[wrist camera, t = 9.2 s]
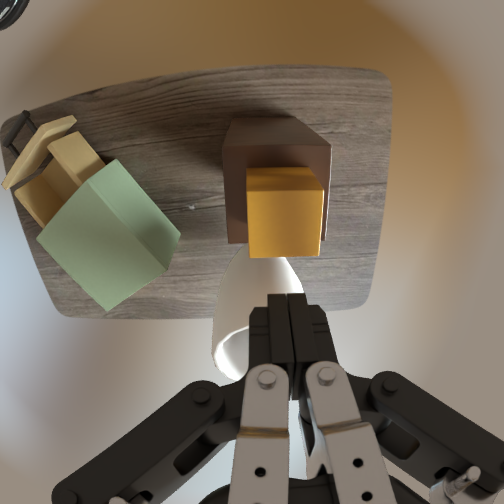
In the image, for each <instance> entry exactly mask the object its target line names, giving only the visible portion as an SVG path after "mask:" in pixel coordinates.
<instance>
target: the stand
mask: <svg viewBox="0 0 504 504" xmlns="http://www.w3.org/2000/svg"><path fill="white" fill-rule="evenodd" d="M331 156H332V145H331V144H329V143H328V142H327V141H326V140H324V139H323V138H322V137H321V136H319V135H318V134H317V133H316V132H314V131H313V130H312V129H310V128H309V127H308V126H306V125H305V124H304V123H302V122H301V121H300V120H298V119H297V118H296V117H253V118H233V119H232V121H231V124H230V126H229V129H228V132H227V134H226V137H225V140H224V143H223V145H222V159H223V176H224V191H225V206H226V220H227V234H228V243H229V244H232V243H248V220H247V194H246V169H247V168H271V167H309V168H310V170H311V171H312V173H313V174H314V176H315V177H316V179H317V180H318V182H319V183H320V185H321V186H322V188H323V189H324V200H323V214H322V227H321V238H320V241H325V238H326V227H327V215H328V203H329V189H330V174H331Z"/></svg>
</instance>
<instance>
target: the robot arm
mask: <svg viewBox="0 0 504 504" xmlns="http://www.w3.org/2000/svg"><path fill="white" fill-rule="evenodd" d="M18 1H19V0H0V22H2V21H3V20H5V19H6V18H7V17H8V16H9V15H10V14H11V12H12V11H13V10H14V8H15V7H16V5H17V3H18ZM290 396H291V398H292V400H299V415H298V419H299V424H300V429H301V434H302V440H303V445H304V450H305V455H306V464H307V465H306V472H307V480H302V479H295V478H289V431H288V411H289V410H288V409H289V407H288V406H289V405H288V403H289V402H288V401H290ZM235 439H236V444H235V452H234V459H233V468H232V476H231V483H230V484H228V485H225V486H223V487H221V488H218V489H217V490H215V491H213V492H211V493H210V494H209V495H207V496H206V497H205V498H204V499H203V500H202V501H201V502H200V503H199V504H430V503H431V504H493V502H494V500H495V498H496V496H497V494H498V493H499V492H500V491H501V490H502V489H504V441H502V440H501V439H499V438H497V437H496V436H494V435H493V434H491V433H489V432H488V431H486V430H485V429H483V428H482V427H480V426H478V425H477V424H475V423H474V422H472V421H471V420H469V419H467V418H466V417H464V416H463V415H461V414H460V413H458V412H456V411H455V410H453V409H452V408H450V407H449V406H447V405H446V404H444V403H443V402H441V401H439V400H438V399H437V398H435V397H433V396H432V395H430V394H429V393H427V392H426V391H424V390H422V389H421V388H420V387H418V386H416V385H415V384H413V383H412V382H411V381H409V380H407V379H406V378H405V377H403V376H401V375H400V374H398V373H396V372H392V371H384V372H380V373H378V374H376V375H375V376H374V377H373V378H372V379H369V378H362V377H357V376H353V375H351V374H349V373H347V372H346V371H345V370H344V369H343V368H342V367H341V366H340V365H339V363H338V360H337V356H336V352H335V348H334V344H333V340H332V336H331V333H330V329H329V325H328V321H327V317H326V313H325V312H324V311H323V310H322V309H321V307H320V306H319V305H308V304H307V299H306V295H305V293H287V294H285V293H279V294H267V307H254V308H253V310H252V312H251V313H250V315H249V364H248V370H247V372H246V374H245V375H244V376H243V377H242V378H241V379H240V380H238V381H236V382H235V383H232V384H229V385H225V386H221V387H219V386H218V385H217V384H215V383H213V382H210V381H204V380H202V381H196V382H192V383H190V384H189V385H187V386H186V387H185V388H183V389H182V390H181V391H180V392H179V393H178V394H176V395H175V396H174V397H173V398H171V399H170V400H169V401H168V402H166V403H165V404H164V405H163V406H161V407H160V408H159V409H158V410H156V411H155V412H154V413H153V414H151V415H150V416H149V417H148V418H146V419H145V420H144V421H142V422H141V423H140V424H139V425H137V426H136V427H135V428H134V429H132V430H131V431H130V432H128V433H127V434H126V435H124V436H123V437H122V438H120V439H119V440H118V441H116V442H115V443H114V444H112V445H111V446H110V447H108V448H107V449H106V450H104V451H103V452H102V453H100V454H99V455H98V456H96V457H95V458H93V459H92V460H91V461H89V462H88V463H86V464H85V465H84V466H82V467H81V468H79V469H78V470H77V471H75V472H74V473H72V474H71V475H69V476H68V477H67V478H65V479H64V480H62V481H61V482H59V483H58V484H57V485H56V486H55V488H54V489H53V491H52V504H160V503H162V502H163V501H164V500H166V499H167V498H168V497H169V496H170V495H172V494H173V493H174V492H175V491H176V490H177V489H179V488H180V487H181V486H182V485H183V484H184V483H185V482H187V481H188V480H189V479H190V478H191V477H192V476H193V475H194V474H196V473H197V472H198V471H199V470H200V469H201V468H202V467H203V466H204V465H205V464H207V463H208V462H209V461H210V460H211V459H212V458H213V457H214V456H215V455H216V454H217V453H218V452H219V451H220V450H221V449H222V448H223V447H224V446H225V445H226V444H227V443H228V442H229V441H231V440H235ZM382 455H383V456H384V457H385V458H387V459H388V460H389V461H391V462H392V463H394V464H395V465H396V466H398V467H399V468H401V469H402V470H403V471H405V472H406V473H408V474H409V475H411V476H412V477H413V478H415V479H416V480H418V481H419V482H421V483H422V484H424V485H425V486H427V487H428V488H430V491H429V501H430V503H429V502H428V501H426V500H425V499H423V498H422V497H421V496H419V495H418V494H417V493H415V492H414V491H413V490H411V489H410V488H409V487H407V486H406V485H405V484H403V483H402V482H401V481H399V480H398V479H396V478H394V477H393V476H390V475H388V472H387V469H386V466H385V463H384V460H383V457H382Z"/></svg>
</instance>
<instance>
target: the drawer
mask: <svg viewBox="0 0 504 504" xmlns="http://www.w3.org/2000/svg"><path fill="white" fill-rule="evenodd" d="M29 117H30V113H29V112H28V111H26V110H24V111H23V112H22V113H21V114H20V116H19V117H18V119H17V120H16V122H15V123H14V125H13V126H12V128H11V129H10V131H9V133H8V134H7V136H6V137H5V139H4V141H3V146H4V147H6V148H9V149H10V151H11V152H12V153H13V155H14V156H15V157H16V159H17V160H16V162H15V163H14V165H13V166H12V168H11V169H10V171H9V173H8V174H7V176H6V177H5V179H4V181H3V182H2V184H1V185H2V186H3V187H4V189H5V190H7V189H9V188H10V187H12V186H13V185H15V184H16V183H18V182H19V181H21V180H23V179H24V178H26V177H27V176H29V175H31V174H32V173H34V172H35V171H36V170H37V169H38V167H39V166H40V165H41V163H42V162H43V161H44V159H45V158H46V157H47V155H48V154H49V153H50V152H51V153H52V155H53V156H54V158H53V159H52V160H51V162H50V163H49V164H48V165H47V167H46V168H45V169H44V171H43V172H42V173H41V174H40V175H39V176H37V177H35V178H34V179H32V180H31V181H29V182H28V183H26V184H25V185H23V186H22V187H20V188H19V189H17V190H16V191H15V193H14V194H15V196H16V197H17V198H18V199H19V201H20V202H21V203H22V204H23V206H24V207H25V208H26V209H27V211H28V212H29V213H30V214H31V215H32V217H33V218H34V219H35V220H36V221H37V223H38V224H39V225H40V226H41V227H42V228H43V229H44V228H45V226H46V225H47V224H48V223H49V222H50V220H51V219H52V218H53V217H54V216H55V214H56V213H57V212H58V211H59V210H60V208H61V207H62V206H63V205H64V204H65V203H66V202H67V201H68V199H69V198H70V197H71V196H72V195H73V194H74V193H75V192H76V191H77V189H78V188H79V187H80V186H81V185H82V184H83V183H84V182H85V181H86V180H87V179H89V178H90V177H91V176H93V175H94V174H95V173H97V172H98V171H99V170H101V169H102V168H103V167H105V166H106V165H105V163H104V162H103V161H102V160H101V159H100V157H99V156H98V155H97V154H96V153H95V151H94V150H93V149H92V148H91V146H90V145H89V144H88V143H87V141H86V140H85V139H84V138H83V137H82V135H81V134H80V133H79V132H78V131H77V132H74V133H72V134H69V135H67V136H65V137H63V136H64V135H65V133H66V132H67V131H68V130H69V129H70V128H71V127H72V125H73V124H74V123H75V122H76V121H77V120H76V119H75V118H74V116H73V115H70V116H67V117H63V118H60V119H57V120H54V121H51V122H48V123H45V124H43V125H41V126H40V127H39V129H37V127H36V126H35V125H34V123H33V122H32V121H31V119H30V118H29ZM25 123H26V124H27V125H28V126H29V128H30V129H31V130H32V132H33V133H34V135H33V137H32V138H31V140H30V141H29V142H28V144H27V145H26V147H25V148H24V150H23V151H22V152H21V154H19V152H18V151H17V149H16V148H15V147H14V145H13V144H12V142H13V141H14V139H15V137H16V136H17V134H18V133H19V131H20V130H21V129H22V127H23V126H24V124H25Z"/></svg>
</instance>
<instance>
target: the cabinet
mask: <svg viewBox="0 0 504 504" xmlns="http://www.w3.org/2000/svg"><path fill="white" fill-rule="evenodd" d="M180 234H181V233H180V232H179V231H178V230H177V229H176V227H175V226H174V225H173V224H172V223H171V222H170V221H169V220H168V218H167V217H166V216H165V215H164V214H163V213H162V211H161V210H160V209H159V208H158V207H157V206H156V205H155V203H154V202H153V201H152V200H151V199H150V198H149V196H148V195H147V194H146V193H145V192H144V191H143V189H142V188H141V187H140V186H139V185H138V184H137V182H136V181H135V180H134V179H133V178H132V176H131V175H130V174H129V173H128V172H127V171H126V169H125V168H124V167H123V166H122V165H121V163H120V162H119V161H118V160H117V159H115V160H113V161H112V162H110V163H109V164H108V165H106V166H105V167H103V168H102V169H101V170H99V171H98V172H97V173H95V174H94V175H93V176H91V177H90V178H89V179H87V180H86V181H85V182H84V183H83V184H82V185H81V186H80V187H79V188H78V189H77V191H76V192H75V193H74V194H73V195H72V196H71V197H70V198H69V199H68V201H67V202H66V203H65V204H64V205H63V206H62V207H61V208H60V210H59V211H58V212H57V213H56V214H55V216H54V217H53V218H52V219H51V220H50V222H49V223H48V224H47V225H46V226H45V228H44V229H43V230H42V231H41V233H40V234H39V235H38V236H37V238H36V240H37V241H38V242H39V243H40V244H41V245H42V247H43V248H44V249H45V250H46V251H47V252H48V253H49V254H50V255H51V256H52V257H53V259H54V260H55V261H56V262H57V263H58V264H59V265H60V266H61V267H62V268H63V269H64V270H65V271H66V272H67V273H68V274H69V275H70V276H71V277H72V278H73V279H74V280H75V281H76V282H77V283H78V284H79V285H80V286H81V287H82V288H83V289H84V290H85V291H86V292H87V293H88V294H89V295H90V296H91V297H92V298H93V299H94V300H95V301H96V302H97V303H99V304H100V305H101V306H102V307H103V308H104V309H105V310H106V311H108V310H110V309H111V308H113V307H114V306H116V305H117V304H119V303H120V302H121V301H123V300H124V299H126V298H127V297H129V296H130V295H132V294H133V293H135V292H136V291H138V290H139V289H140V288H142V287H143V286H145V285H146V284H148V283H149V282H151V281H152V280H154V279H155V278H157V277H158V276H160V275H161V274H163V273H164V272H166V271H167V270H168V267H169V264H170V261H171V259H172V256H173V253H174V251H175V248H176V245H177V242H178V240H179V237H180Z"/></svg>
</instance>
